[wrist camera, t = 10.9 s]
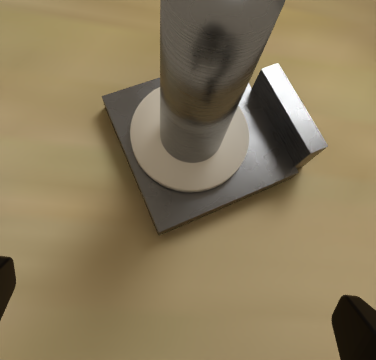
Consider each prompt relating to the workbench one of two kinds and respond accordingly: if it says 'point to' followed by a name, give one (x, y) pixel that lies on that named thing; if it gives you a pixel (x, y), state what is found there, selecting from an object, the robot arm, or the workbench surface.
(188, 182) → the pan
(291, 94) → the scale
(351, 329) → the robot arm
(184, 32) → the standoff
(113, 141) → the workbench surface
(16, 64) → the workbench surface
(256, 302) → the workbench surface
